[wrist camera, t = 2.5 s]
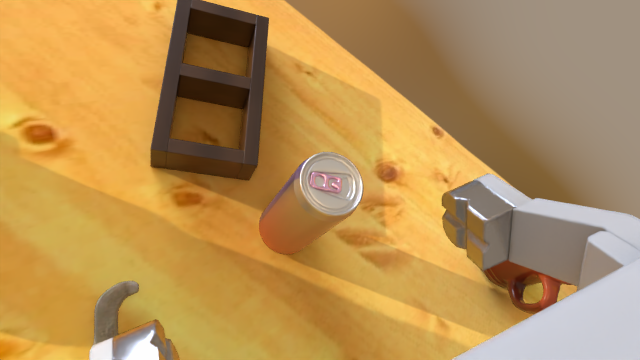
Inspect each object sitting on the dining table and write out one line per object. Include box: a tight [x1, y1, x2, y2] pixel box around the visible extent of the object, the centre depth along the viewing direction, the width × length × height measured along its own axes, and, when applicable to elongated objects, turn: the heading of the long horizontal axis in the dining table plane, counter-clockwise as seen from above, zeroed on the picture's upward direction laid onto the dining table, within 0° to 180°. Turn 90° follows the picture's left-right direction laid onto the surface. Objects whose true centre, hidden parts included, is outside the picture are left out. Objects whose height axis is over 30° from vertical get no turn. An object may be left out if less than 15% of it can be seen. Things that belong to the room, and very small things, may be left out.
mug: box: [484, 259, 573, 314], centre depth 52 cm, size 12×9×10 cm
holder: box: [151, 0, 269, 180], centre depth 50 cm, size 10×20×4 cm, turn 178°
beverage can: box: [259, 152, 363, 254], centre depth 43 cm, size 6×6×15 cm
